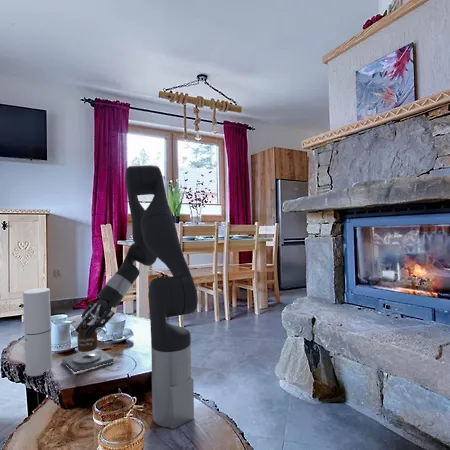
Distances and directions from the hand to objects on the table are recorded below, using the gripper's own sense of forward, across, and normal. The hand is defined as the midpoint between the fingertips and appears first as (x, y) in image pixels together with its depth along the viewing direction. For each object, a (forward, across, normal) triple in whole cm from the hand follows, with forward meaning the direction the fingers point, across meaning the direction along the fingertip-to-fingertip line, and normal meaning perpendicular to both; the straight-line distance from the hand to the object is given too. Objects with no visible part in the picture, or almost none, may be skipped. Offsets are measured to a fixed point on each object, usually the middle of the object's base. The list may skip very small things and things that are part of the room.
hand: (81, 334), depth 107 cm
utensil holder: (+3, 0, +5) cm, 6 cm away
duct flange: (+6, 0, +8) cm, 10 cm away
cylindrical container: (+15, -6, -1) cm, 16 cm away
